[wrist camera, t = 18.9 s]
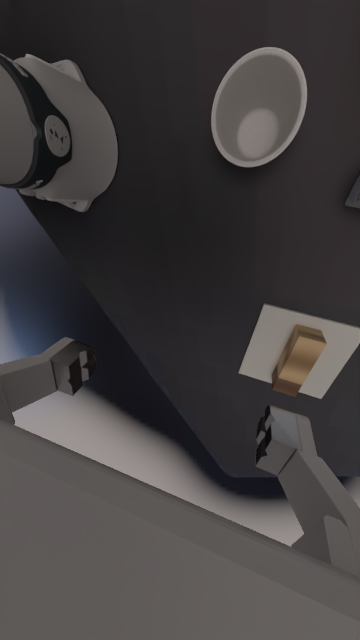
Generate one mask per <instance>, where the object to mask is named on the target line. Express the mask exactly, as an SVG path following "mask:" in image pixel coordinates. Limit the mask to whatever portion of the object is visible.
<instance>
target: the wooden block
mask: <svg viewBox="0 0 360 640" xmlns="http://www.w3.org/2000/svg"><path fill="white" fill-rule="evenodd" d="M326 345H327V343H326V340H325V338H324V336H323V333H322V331H321V330H318V329H314V328H310V327H306V326H303V325H299V324H296V325H295V327H294V329H293V331H292V333H291V335H290V337H289V340H288V342H287V344H286V346H285V348H284V350H283V352H282V354H281V356H280V358H279V360H278V362H277V364H276V367H275V369H274V371H273V373H272V375H271V376H272V390H275V391H278V392H281V393H285V394H288V395H291V396H294V397H295V396H296V395H297V393H298V391H299V390H300V388H301V386H302V385H303V383H304V381H305V380H306V378H307V376H308V375H309V373H310V371H311V370H312V368H313V366H314V365H315V363H316V361H317V360H318V358H319V356H320V355H321V353H322V351H323V350H324V348H325V346H326Z"/></svg>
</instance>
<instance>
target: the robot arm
mask: <svg viewBox="0 0 360 640" xmlns="http://www.w3.org/2000/svg"><path fill="white" fill-rule="evenodd" d="M117 160H118V146H117V138H116V133H115V129H114V126H113V123H112V121H111V118H110V116H109V114H108V112H107V110H106V109H105V107H104V105H103V104H102V103H101V101H100V100H99V99H98V98H97V97H96V96H95V95H94V93H93V92H92V91H91V90H90V89H89V87H88V86H87V84H86V82H85V79H84V77H83V75H82V73H81V71H80V69H79V67H78V66H77V65H76V64H75V63H74V62H72V61H70V60H63V61H59V62H55V63H52V64H49V63H47V62H45V61H43V60H41V59H39V58H37V57H35V56H33V55H30V54H26V55H25V57H23V58H18V59H16V60H14V61H12V60H11V59H10V58H8V57H6V56H4V55H2V54H0V186H3V187H6V188H13V189H18V190H19V192H20V193H21V194H24V195H28V196H35V195H36V198H38V199H42V200H46V199H47V200H49V201H57V202H59V203H61V204H63V205H66V206H68V207H70V208H72V209H74V210H77V211H79V212H86V211H87V210H88V209H89V207H90V205H91V203H92V201H93V200H94V199H95V198H96V197H97V196H99V195H100V194H102V193H103V192H104V191H105V190H106V189H107V188H108V186H109V185H110V183H111V182H112V179H113V177H114V174H115V171H116V167H117ZM75 202H76V204H75ZM95 354H96V352H95V348H94V347H93V346H90V345H87V344H85V343H82V342H79V341H76V340H73V339H70V338H67V337H66V338H63V339H61V340H60V341H58V342H57V343H56V344H54V345H53V346H51V347H50V348H49V349H47V350H46V351H44V352H43V353H42V354H40V355H39V356H37V355H34V356H30V357H26V358H23V359H19V360H15V361H12V362H8V363H4V364H0V640H360V508H359V507H358V505H357V504H356V503H355V501H354V500H353V499H352V497H351V496H350V495H349V493H348V492H347V491H346V489H345V488H344V487H343V486H342V484H341V483H340V482H339V480H338V479H337V478H336V476H335V475H334V474H333V472H332V471H331V470H330V469H329V467H328V466H327V465H326V463H325V462H324V461H323V459H322V458H320V457H317V452H316V448H315V443H314V439H313V434H312V430H311V425H310V421H309V419H308V417H305V416H302V415H299V414H296V413H293V412H290V411H286V410H283V409H280V408H277V407H274V406H271V405H268V406H267V407H266V409H265V416H264V417H261V419H260V421H259V424H258V427H257V433H256V440H257V442H258V444H259V446H258V447H257V449H256V467H258V468H261V469H263V470H265V471H268V472H270V473H273V474H275V475H277V476H278V479H279V481H280V483H281V485H282V487H283V489H284V491H285V493H286V496H287V498H288V500H289V502H290V504H291V506H292V508H293V510H294V512H295V515H296V517H297V519H298V521H299V523H300V525H301V527H302V529H303V531H304V535H303V536H302V537H301V538H299V539H298V540H297V541H296V542H295V543H294V544H292V547H290V546H287V545H285V544H283V543H281V542H278V541H276V540H274V539H271V538H269V537H267V536H265V535H263V534H260V533H258V532H256V531H253V530H251V529H249V528H247V527H244V526H242V525H240V524H237V523H235V522H233V521H231V520H228V519H226V518H224V517H222V516H219V515H217V514H215V513H213V512H210V511H208V510H206V509H203V508H201V507H199V506H197V505H194V504H192V503H190V502H188V501H185V500H183V499H181V498H179V497H176V496H174V495H172V494H169V493H167V492H165V491H162V490H160V489H158V488H156V487H153V486H151V485H149V484H147V483H144V482H142V481H140V480H137V479H135V478H133V477H131V476H129V475H126V474H124V473H122V472H120V471H117V470H115V469H113V468H111V467H108V466H106V465H104V464H101V463H99V462H97V461H95V460H92V459H90V458H88V457H85V456H83V455H81V454H79V453H76V452H74V451H72V450H70V449H67V448H65V447H63V446H61V445H58V444H56V443H54V442H51V441H49V440H47V439H44V438H42V437H40V436H38V435H36V434H33V433H30V432H29V431H26V430H24V429H22V428H20V427H17V426H15V425H14V424H15V420H14V417H13V415H12V412H14V411H16V410H18V409H20V408H23V407H25V406H27V405H29V404H31V403H33V402H35V401H37V400H39V399H41V398H43V397H46V396H48V395H50V394H52V393H54V392H56V391H57V390H59V391H61V392H64V393H67V394H69V395H72V396H73V395H74V394H75V393H76V392H77V391H78V390H79V389H80V388H81V386H83V381H85V380H87V379H89V378H90V377H91V376H92V375H93V373H94V371H95V369H96V359H95V358H94V357H93V356H94V355H95Z"/></svg>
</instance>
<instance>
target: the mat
mask: <svg viewBox="0 0 360 640" xmlns="http://www.w3.org/2000/svg"><path fill="white" fill-rule="evenodd" d="M296 324H299V325H303V326H306V327H310V328H314V329H318V330H321V331H322V333H323V336H324V338H325V340H326V343H327V345H326V346H325V348H324V350H323V351H322V353H321V355H320V356H319V358H318V360H317V361H316V363H315V365H314V366H313V368H312V370H311V371H310V373H309V375H308V376H307V378H306V380H305V381H304V383H303V385H302V386H301V388H300V390H299V391H298V392H301V393H304V394H307V395H310V396H313V397H317V398H320V399H321V398H322V397H323V396H324V394H325V393H326V391H327V390H328V388H329V387H330V385H331V384H332V382H333V381H334V380H335V378H336V377H337V375H338V374H339V372H340V371H341V369H342V368H343V366H344V365H345V364H346V362H347V361H348V359H349V358H350V356H351V355H352V353H353V352H354V350H355V349H356V348H357V346H358V345H359V343H360V327H357V326H353V325H350V324H346V323H342V322H338V321H334V320H330V319H326V318H322V317H318V316H314V315H310V314H306V313H302V312H298V311H294V310H290V309H286V308H282V307H278V306H274V305H270V304H266V303H264V305H263V308H262V310H261V313H260V316H259V318H258V321H257V324H256V326H255V329H254V332H253V334H252V337H251V340H250V342H249V345H248V348H247V350H246V353H245V356H244V359H243V361H242V364H241V367H240V369H239V373H240V374H244V375H247V376H250V377H253V378H256V379H259V380H263V381H266V382H269V383H272V376H271V375H272V373H273V371H274V369H275V367H276V364H277V362H278V360H279V358H280V356H281V354H282V352H283V350H284V348H285V346H286V344H287V342H288V340H289V337H290V335H291V333H292V331H293V329H294V327H295V325H296Z"/></svg>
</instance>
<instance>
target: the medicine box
mask: <svg viewBox="0 0 360 640" xmlns="http://www.w3.org/2000/svg"><path fill="white" fill-rule="evenodd" d="M344 205H346V206H350V207H356V208H360V175H359V176H358V178H357V180H356V182H355V184H354V186H353V188H352V190H351V192H350V194H349V196H348V198H347V200H346V202H345V204H344Z"/></svg>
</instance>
